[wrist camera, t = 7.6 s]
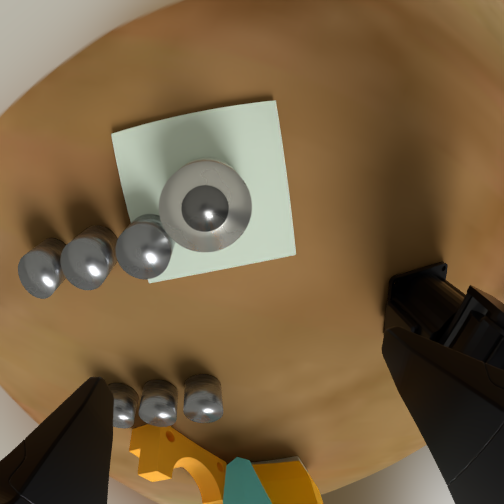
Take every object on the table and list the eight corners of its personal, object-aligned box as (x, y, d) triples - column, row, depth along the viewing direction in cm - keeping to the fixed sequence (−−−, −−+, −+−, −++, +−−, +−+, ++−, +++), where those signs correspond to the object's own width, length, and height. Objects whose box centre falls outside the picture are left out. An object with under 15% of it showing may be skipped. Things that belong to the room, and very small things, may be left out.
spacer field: (169, 207, 18) (162, 219, 15) (224, 394, 24) (226, 420, 21) (32, 243, 17) (12, 258, 14) (115, 405, 23) (109, 428, 21)
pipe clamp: (132, 427, 25) (125, 476, 19) (161, 418, 25) (157, 471, 19) (198, 468, 30) (200, 508, 24) (226, 461, 29) (230, 503, 23)
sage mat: (273, 101, 16) (275, 100, 16) (294, 252, 20) (296, 254, 19) (113, 134, 15) (111, 133, 15) (150, 279, 19) (149, 283, 19)
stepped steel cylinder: (236, 151, 16) (244, 153, 13) (248, 221, 18) (258, 243, 14) (163, 165, 16) (148, 173, 12) (178, 234, 18) (170, 261, 14)
